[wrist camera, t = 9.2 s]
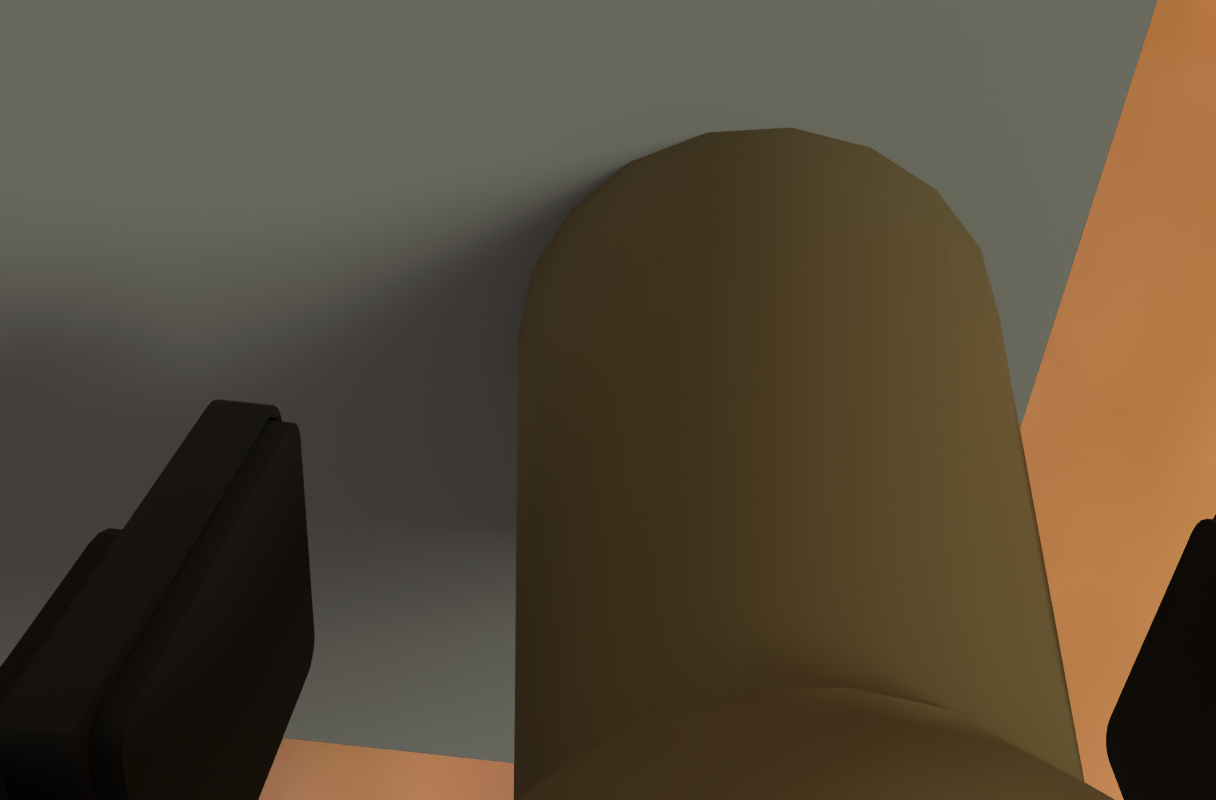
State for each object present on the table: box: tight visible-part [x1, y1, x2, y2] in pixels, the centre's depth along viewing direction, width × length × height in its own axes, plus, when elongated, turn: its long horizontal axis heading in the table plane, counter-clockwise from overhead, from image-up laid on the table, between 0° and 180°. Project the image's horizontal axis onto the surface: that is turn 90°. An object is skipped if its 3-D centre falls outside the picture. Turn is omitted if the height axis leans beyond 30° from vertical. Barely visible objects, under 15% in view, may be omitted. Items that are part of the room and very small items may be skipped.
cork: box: [514, 127, 1114, 800], centre depth 10 cm, size 6×6×11 cm
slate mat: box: [0, 0, 1157, 763], centre depth 15 cm, size 20×16×1 cm
